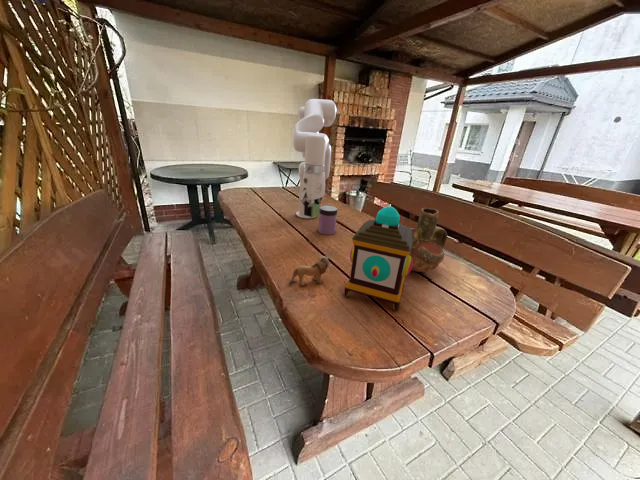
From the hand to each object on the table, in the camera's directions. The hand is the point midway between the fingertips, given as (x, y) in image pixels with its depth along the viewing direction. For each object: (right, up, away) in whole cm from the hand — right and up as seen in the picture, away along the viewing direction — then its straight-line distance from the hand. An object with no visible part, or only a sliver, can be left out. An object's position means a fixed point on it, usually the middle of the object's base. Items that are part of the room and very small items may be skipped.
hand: (311, 213), depth 107 cm
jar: (+7, -6, +30) cm, 31 cm away
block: (0, 0, 0) cm, 1 cm away
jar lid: (+8, +5, +25) cm, 27 cm away
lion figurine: (0, -26, -15) cm, 30 cm away
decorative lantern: (+22, -28, -17) cm, 40 cm away
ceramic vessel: (+41, -23, -1) cm, 47 cm away
